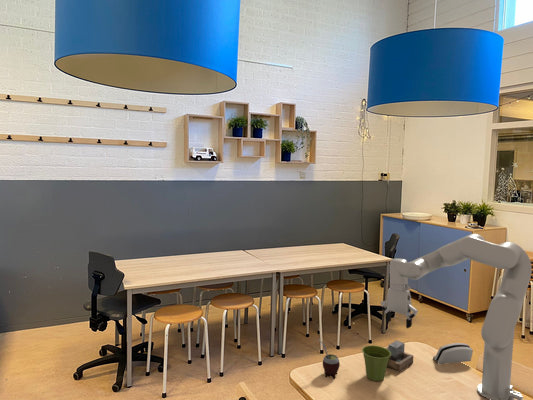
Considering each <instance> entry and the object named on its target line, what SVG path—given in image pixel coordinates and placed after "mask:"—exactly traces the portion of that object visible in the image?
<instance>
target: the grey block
mask: <svg viewBox="0 0 533 400" xmlns="http://www.w3.org/2000/svg"><path fill="white" fill-rule="evenodd" d="M388 346H389V348H388V350H389V351H390V352H391V356H390V357H389V359H390V360H393V361H396V362H398V363H399V362H400V361H402V360H403V359H404V352H405V342H403V341H400V340H396V339H395V341H393V342H391V343H390V344H388Z"/></svg>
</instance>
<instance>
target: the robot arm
mask: <svg viewBox="0 0 533 400" xmlns="http://www.w3.org/2000/svg"><path fill="white" fill-rule="evenodd" d="M467 260H470V261H473V262H477V263H480V264H483V265H486V266H489V267H493V268H496V269H500V270H504V272H503V275H502V278H501V282H500V285H499V286H498V290H497V293H496V294H495V295H494V297H493V298H492V299H491V301H490V303H489V306H488V310H487V312H486V315H485V318H484V321H483V325H482V327H481V338H482V341H484V344H483V345H484V346H483V360H482V378H481V379H482V380H481V383H479V384H478V385H477V388H476V389H477V392H479V393H478V394H479V395H480V394H481V395H482V397H483V396H484V397H486V398H488V399H491V400H523V399H524V396H523V395H522V392H520V391H517V390H514V389H513V386H514V385H511V382H512V381H511V380H512V365H513V363H512V362H513V351H514V350H513V348H514V341H515V329H516V326H517V323H518V320H519V318H520V315H521V313H522V309H523V304H524V299H525V296H526V293H527V290H528V287H529V284H530V281H531V277H532V273H533V272H532V271H533V270H532V262H531V259H530V256H529V255H528V253H527V252H526V250H524V248H522V247H521V246H520V245H518V244H516V243H514V242H511V241H506V242H505V241H504V242H501V243H500V244H496V243H494V242H493V243H492V242H489V241H486V239H485V238H484V237H483V236H482V235H480V234H477V233H471V234H468V235H466V236H463V237H461V238H459V239H456V240H454V241H452V242H450V243H447V244H445V245H443V246H441V247H439V248H438V249H436V250H434V251H431V252H430V253H426V254H425V255H423V256H421V257H418V258H416V259H414V260H411V261H407V259H405V258H392V259H390V262H389V288H388V290H387V295H386V300H382V301H381V302H380V305H381V308H382V310H383V312H384V314H385V323H390V322H391V321H392V312H394V313H398V314H400V315H401V314H402V315H404V316H405V317H406V320H405V321H406V322H405V324H406V325H405V327H406V329H409V328H411V327H412V325H413V322H412V321H413V318H414V317H416V316H417V314H418V312H419V311H418V309H416V308H415V307H414V306H413V305H412V296H411V292H410V290H411V286H410V285H409V283H408V282H409V281H408V280H414V281H417V280H420V279H421V278H422V277H424V276H426V275H427V274H429V273H432V272H434V271H437V270H439V269H441V268H444V267H452V266H455V265H458V264H460V263H462V262H465V261H467ZM411 312H412V313H411ZM481 395H480V396H481ZM484 397H483V398H484ZM486 398H485V399H486ZM488 399H487V400H488Z"/></svg>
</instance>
